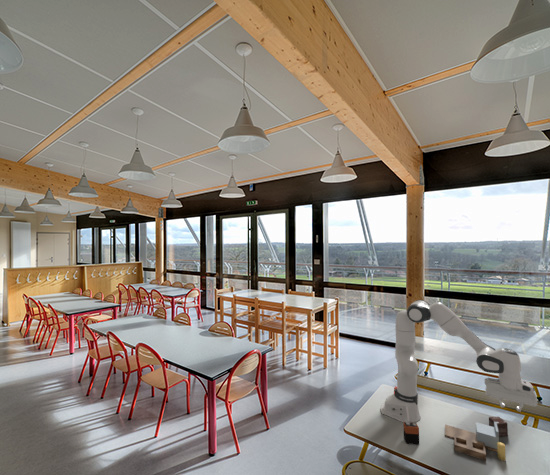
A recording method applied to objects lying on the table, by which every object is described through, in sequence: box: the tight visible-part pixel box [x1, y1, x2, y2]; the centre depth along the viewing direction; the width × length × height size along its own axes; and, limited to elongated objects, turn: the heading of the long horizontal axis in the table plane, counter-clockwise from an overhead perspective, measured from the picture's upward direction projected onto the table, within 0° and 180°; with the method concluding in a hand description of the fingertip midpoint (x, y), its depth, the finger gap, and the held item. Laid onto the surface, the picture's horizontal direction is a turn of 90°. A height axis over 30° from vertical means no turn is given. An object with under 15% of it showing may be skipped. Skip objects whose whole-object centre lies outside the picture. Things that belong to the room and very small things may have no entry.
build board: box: [453, 434, 487, 461], centre depth 144 cm, size 13×9×3 cm
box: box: [488, 416, 509, 438], centre depth 156 cm, size 6×6×7 cm
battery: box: [402, 422, 420, 446], centre depth 151 cm, size 4×7×10 cm, turn 81°
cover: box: [475, 421, 500, 449], centre depth 149 cm, size 9×9×9 cm
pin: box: [497, 441, 507, 462], centre depth 138 cm, size 3×3×7 cm
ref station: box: [444, 424, 498, 453], centre depth 152 cm, size 24×10×6 cm, turn 57°
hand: (510, 408), depth 143 cm, fingers open, 5 cm apart
